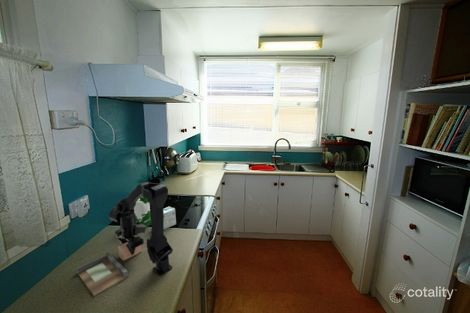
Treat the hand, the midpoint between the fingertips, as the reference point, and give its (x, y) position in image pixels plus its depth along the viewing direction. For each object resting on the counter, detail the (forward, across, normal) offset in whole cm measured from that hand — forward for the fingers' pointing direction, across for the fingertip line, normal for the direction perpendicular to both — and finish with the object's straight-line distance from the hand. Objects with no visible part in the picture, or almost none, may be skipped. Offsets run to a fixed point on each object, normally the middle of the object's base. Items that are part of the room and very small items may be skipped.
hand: (130, 252), depth 106 cm
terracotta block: (+1, 0, 0) cm, 1 cm away
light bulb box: (+1, +11, -28) cm, 30 cm away
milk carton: (+1, +23, -19) cm, 30 cm away
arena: (+1, -4, +14) cm, 15 cm away
